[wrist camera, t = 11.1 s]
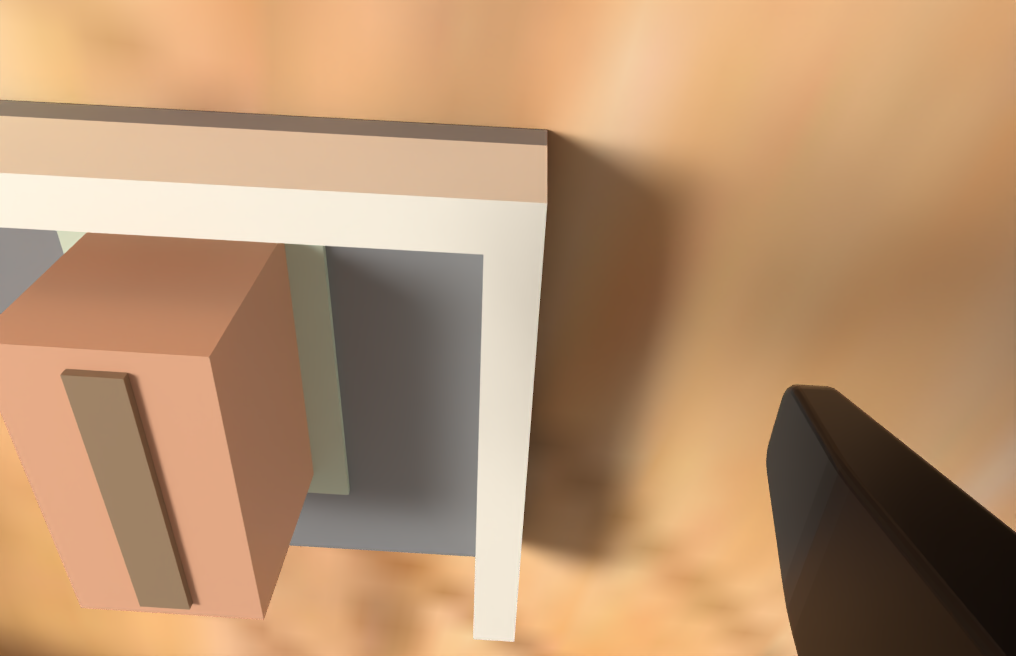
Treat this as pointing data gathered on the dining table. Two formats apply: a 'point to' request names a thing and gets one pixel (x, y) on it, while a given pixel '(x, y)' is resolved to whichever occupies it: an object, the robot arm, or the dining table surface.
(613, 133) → the dining table surface
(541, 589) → the dining table surface
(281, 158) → the tray
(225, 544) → the terracotta block
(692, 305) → the dining table surface
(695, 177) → the dining table surface
